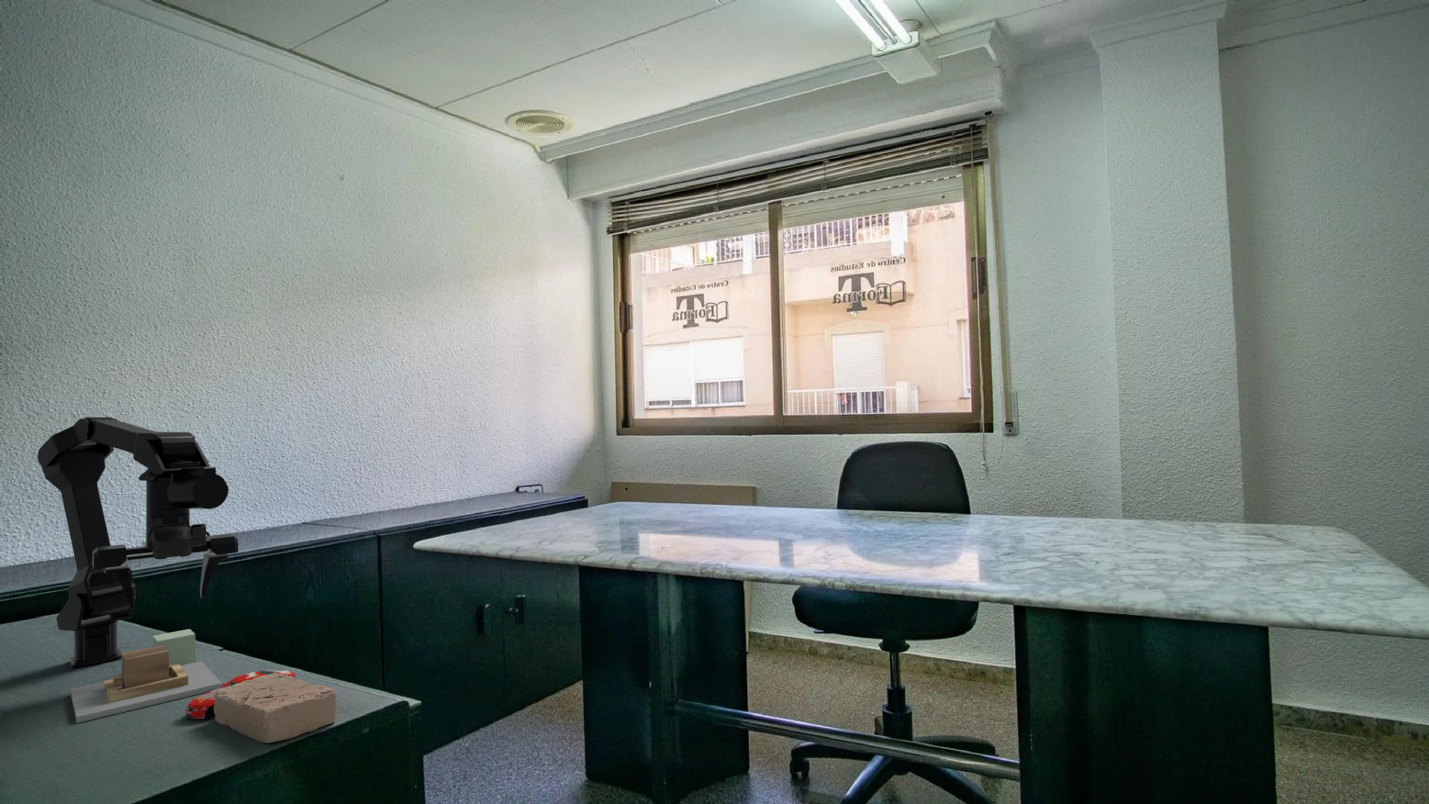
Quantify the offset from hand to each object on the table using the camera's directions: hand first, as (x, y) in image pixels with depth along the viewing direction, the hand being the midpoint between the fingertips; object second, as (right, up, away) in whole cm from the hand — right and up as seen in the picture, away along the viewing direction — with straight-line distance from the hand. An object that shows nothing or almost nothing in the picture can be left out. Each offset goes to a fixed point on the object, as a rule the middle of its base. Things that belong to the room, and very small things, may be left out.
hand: (168, 602), depth 116 cm
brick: (+33, -9, -25) cm, 42 cm away
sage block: (0, -11, +1) cm, 11 cm away
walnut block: (+5, -9, -11) cm, 16 cm away
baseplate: (+5, -10, -11) cm, 16 cm away
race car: (+24, -10, -18) cm, 32 cm away
